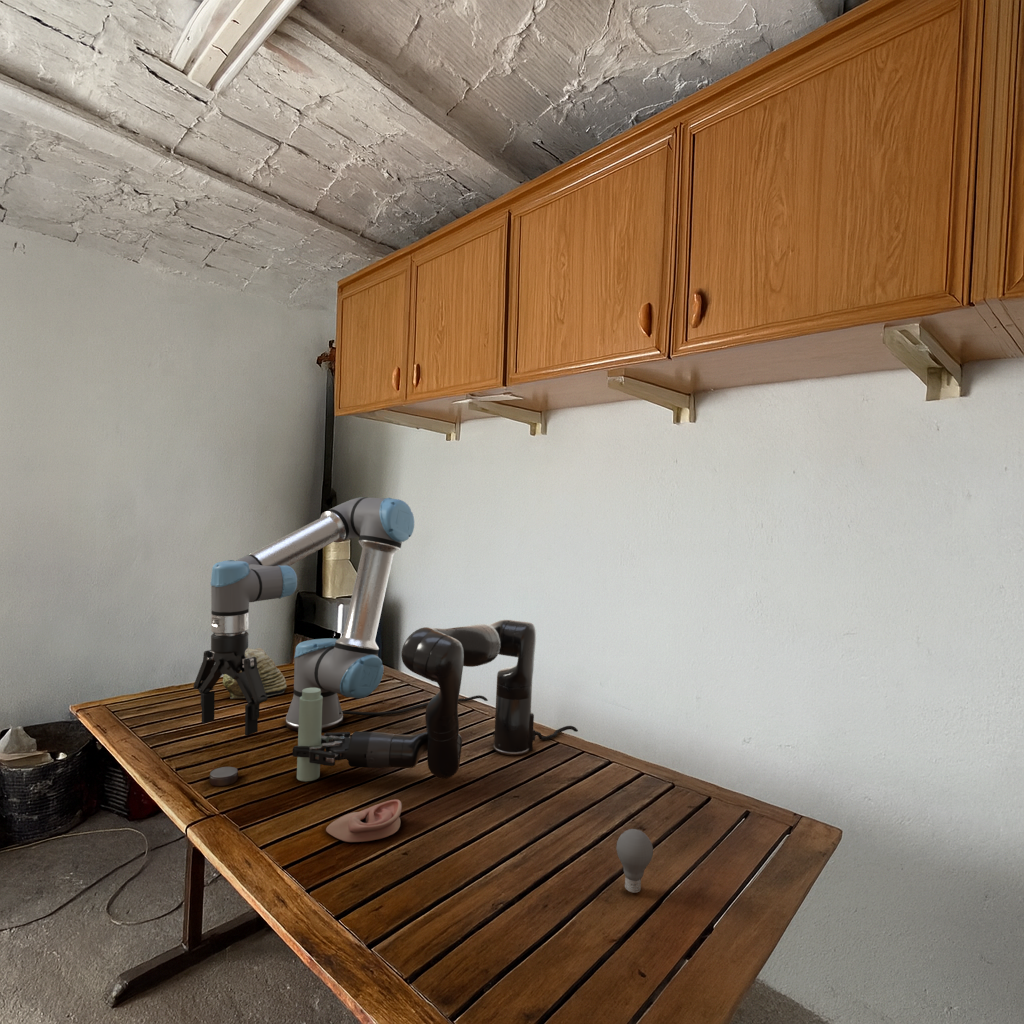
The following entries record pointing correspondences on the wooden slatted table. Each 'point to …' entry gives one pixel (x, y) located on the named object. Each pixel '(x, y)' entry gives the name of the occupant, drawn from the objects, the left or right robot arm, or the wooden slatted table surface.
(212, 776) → the lid
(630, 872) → the light bulb
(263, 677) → the fossil
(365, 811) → the anatomical model
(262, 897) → the wooden slatted table surface
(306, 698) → the pale green cylinder
